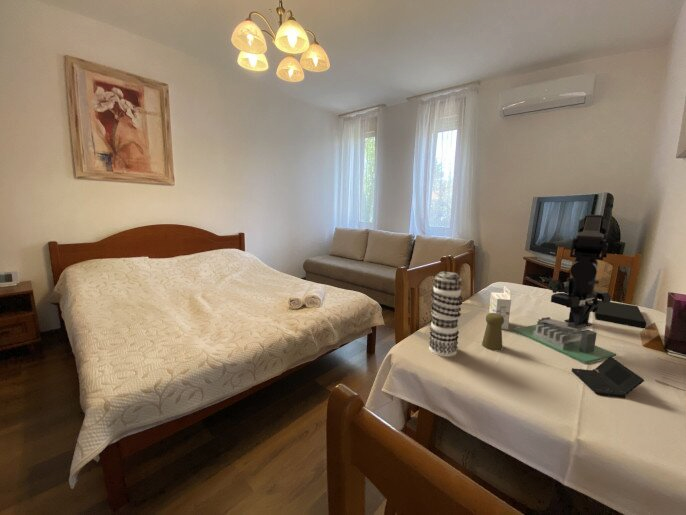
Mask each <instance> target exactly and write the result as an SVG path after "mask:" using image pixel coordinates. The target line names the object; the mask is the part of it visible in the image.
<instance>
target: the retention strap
mask: <svg viewBox="0 0 686 515" xmlns="http://www.w3.org/2000/svg"><path fill="white" fill-rule="evenodd" d="M538 321H540V322H545V323H549V324H553V325H557V326H561V327H565V328H569V329H573V330H577V331H579V330H587V327H586V324H584V323H581V324H575V322H572V323H568V322H565V321H561V320H557V319H553V318H551V317H549V316H547V317H542V318H541V317H540V318H538Z"/></svg>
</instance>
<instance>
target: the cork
mask: <svg viewBox="0 0 686 515" xmlns="http://www.w3.org/2000/svg"><path fill="white" fill-rule="evenodd" d="M485 321H486V326H485V330H484V334H483V339H482V342H481V345H482V347H484V348H485V349H487V350H489V349H490V350H489V351H494V350H500V351H502V350H503V334H502V333H503V331H502V330H503V329H502V327H501V325H503V323H504V318H503V316H502V315H500V314H497V313H487V314H486V316H485ZM501 349H502V350H501Z"/></svg>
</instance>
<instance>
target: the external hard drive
mask: <svg viewBox="0 0 686 515" xmlns="http://www.w3.org/2000/svg"><path fill="white" fill-rule="evenodd" d="M597 300H598V301H599V303H598V309H597V312H594V320H597V321H601V322H606V323H607V322H608V323H612V324H618V325H622V326H628V327H633V328H638V329H644V328H645V329H646V327H647V322H646V319H645V318H644V315H643V314H642V312H641V310H640V308H639V306H638V305H632V304H626V303H621V302H613V301H610V302H606V303H605V302H602V300H599V299H597ZM645 329H644V330H645Z"/></svg>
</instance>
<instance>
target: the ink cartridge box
mask: <svg viewBox="0 0 686 515" xmlns="http://www.w3.org/2000/svg"><path fill="white" fill-rule="evenodd" d="M489 302H490V303H489V311H488V312H489V313H497V314H500V315H502V316H503V318H504V323H503V325H501V327H502V330H508V329H509V324H510V313H511V305H512V303H511V302H512V291H511V290H510V289H508V288H507V287H506V286H505V285H503V292H493V291H492V292H490V301H489ZM489 313H488V314H489Z"/></svg>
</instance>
